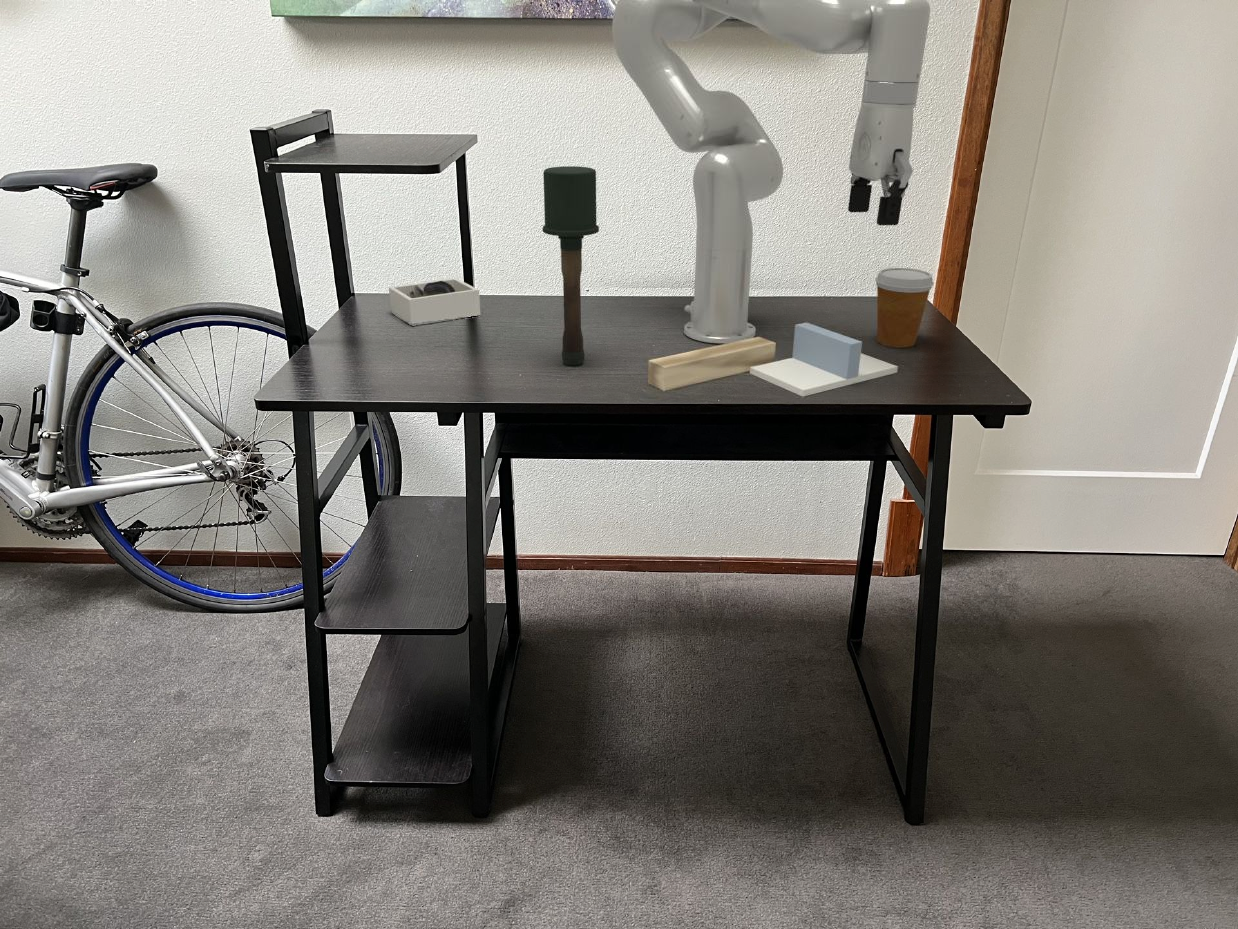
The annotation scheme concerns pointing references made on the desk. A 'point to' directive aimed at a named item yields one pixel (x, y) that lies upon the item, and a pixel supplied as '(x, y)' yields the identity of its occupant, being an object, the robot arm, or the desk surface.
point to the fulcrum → (822, 363)
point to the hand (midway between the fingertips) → (872, 218)
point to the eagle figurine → (433, 289)
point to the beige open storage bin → (435, 302)
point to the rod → (709, 363)
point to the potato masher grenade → (570, 241)
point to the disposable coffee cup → (901, 304)
